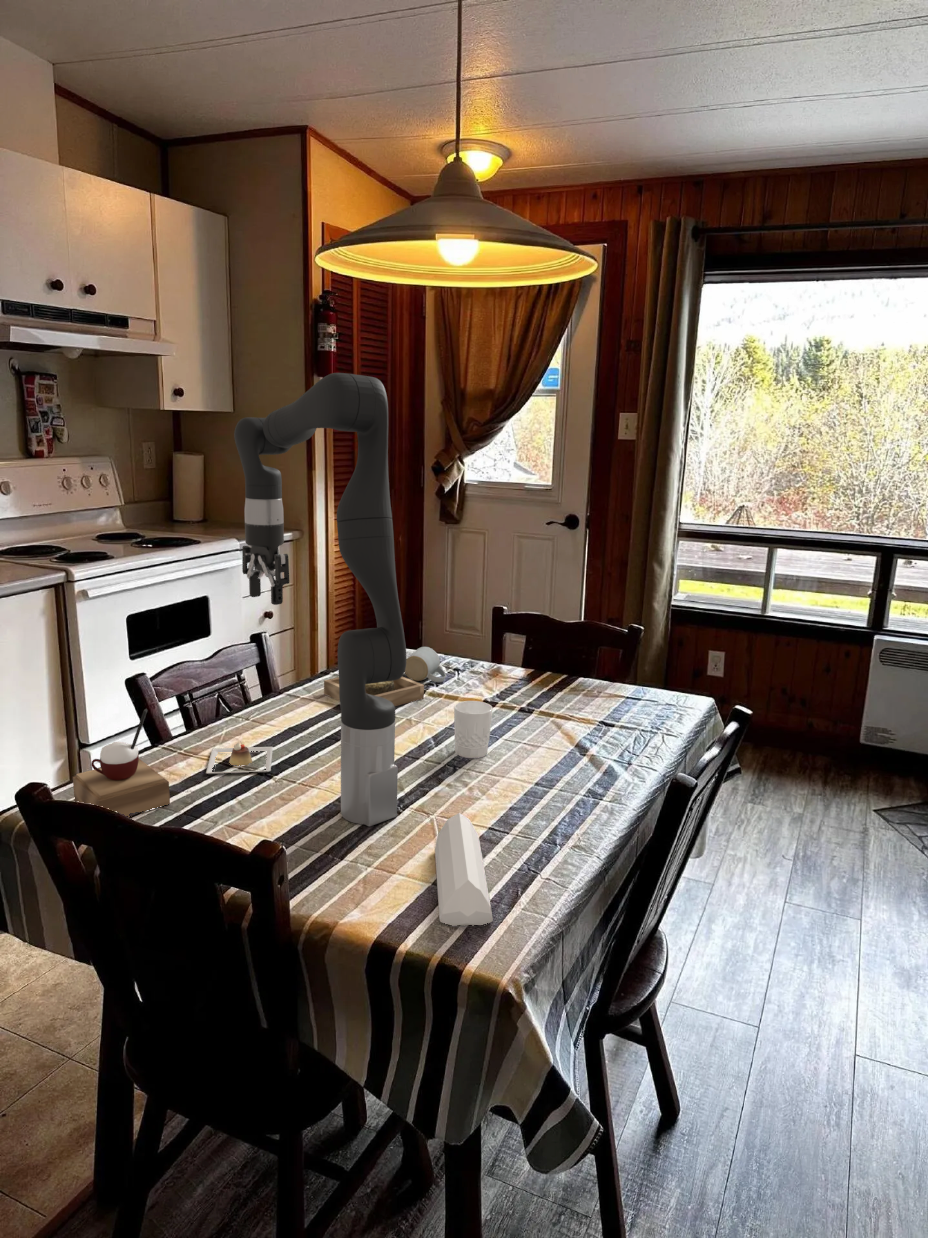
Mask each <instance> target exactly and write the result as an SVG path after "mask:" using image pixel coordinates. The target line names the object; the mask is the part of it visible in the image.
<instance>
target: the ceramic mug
mask: <svg viewBox="0 0 928 1238" xmlns="http://www.w3.org/2000/svg"><path fill="white" fill-rule="evenodd" d="M406 658H407V660H406V669H405V672H404V674H405V675H406V677H407V679H410V680H412V681H415V682H420V681H424V680H426V679H429V680H430V681H433V682H434V683H443V682H444V681H445V679H446V677H447V674H446V671H445V670H444V669H443V668H442V667H440V664H441V661H440V659H441V658H440V657H439V654H438V653H437V652H436V651H435V650H434V649H433V648H431V647H429V646H421V647H419V648H417V649H415V651H414V652H412V653H411V654H410V655H409V656H408V657H406ZM435 673H438V674H439V675H440V676H441V677H438V676H436V675H434V674H435Z"/></svg>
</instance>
